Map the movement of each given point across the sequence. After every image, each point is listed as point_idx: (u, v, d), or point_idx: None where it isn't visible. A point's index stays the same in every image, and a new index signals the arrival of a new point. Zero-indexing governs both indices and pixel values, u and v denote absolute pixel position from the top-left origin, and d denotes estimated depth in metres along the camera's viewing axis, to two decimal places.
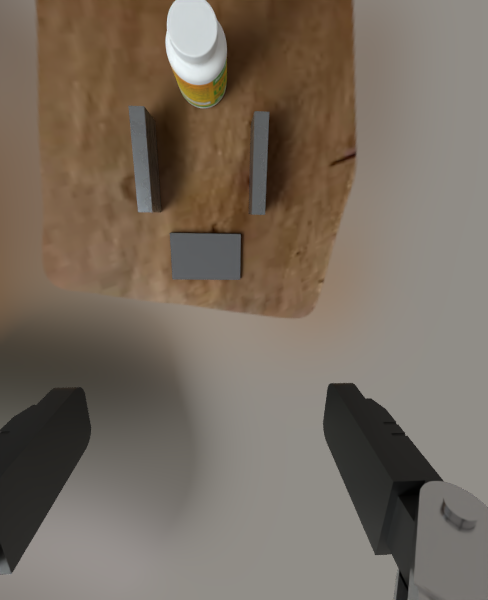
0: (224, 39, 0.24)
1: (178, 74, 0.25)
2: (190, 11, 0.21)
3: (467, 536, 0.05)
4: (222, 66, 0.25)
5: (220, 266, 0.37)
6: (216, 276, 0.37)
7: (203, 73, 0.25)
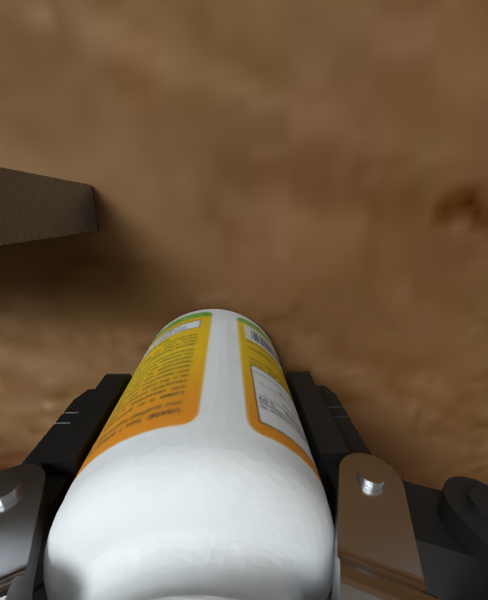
0: None
1: (73, 488, 0.05)
2: None
3: (371, 496, 0.05)
4: None
5: None
6: None
7: None
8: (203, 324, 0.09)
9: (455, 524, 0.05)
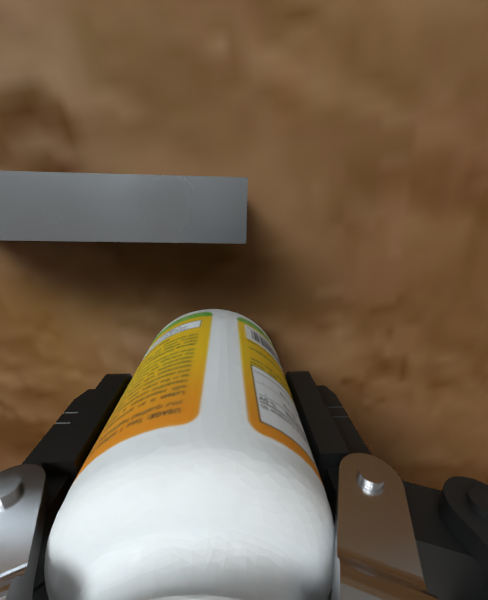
0: None
1: (74, 488, 0.05)
2: None
3: (371, 496, 0.05)
4: None
5: None
6: None
7: None
8: (203, 324, 0.09)
9: (455, 524, 0.05)
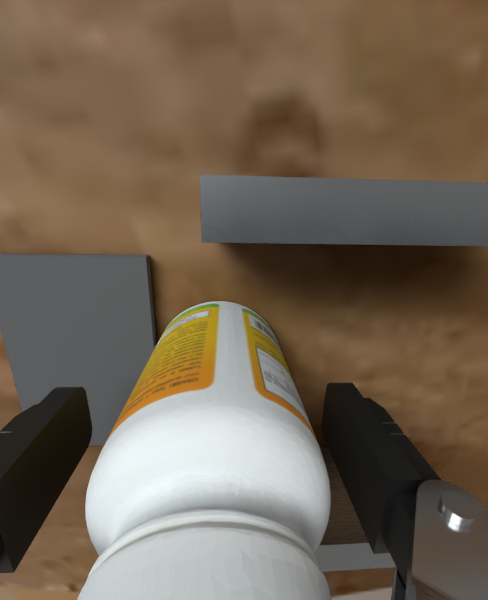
0: None
1: (110, 442, 0.06)
2: None
3: (464, 534, 0.05)
4: None
5: None
6: (26, 389, 0.12)
7: None
8: (212, 314, 0.10)
9: None
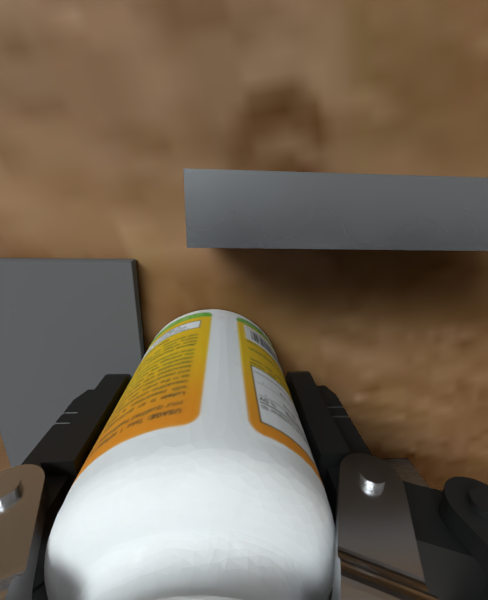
0: None
1: (74, 489, 0.05)
2: None
3: (372, 496, 0.05)
4: None
5: (42, 415, 0.11)
6: (3, 405, 0.11)
7: None
8: (203, 324, 0.09)
9: (455, 524, 0.05)
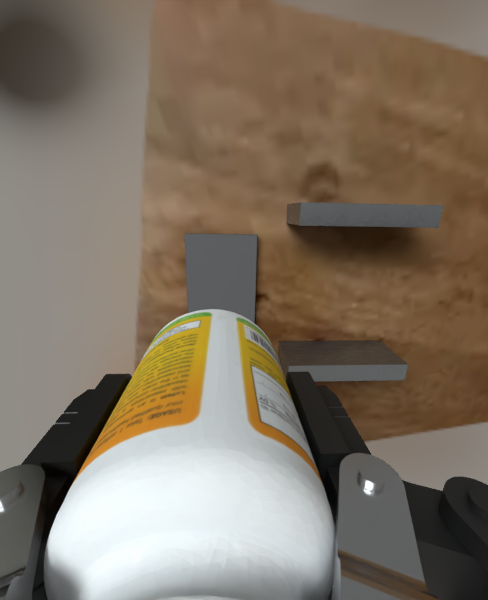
0: None
1: (74, 489, 0.05)
2: None
3: (372, 497, 0.05)
4: None
5: (208, 307, 0.25)
6: (192, 301, 0.25)
7: None
8: (203, 324, 0.09)
9: (455, 524, 0.05)
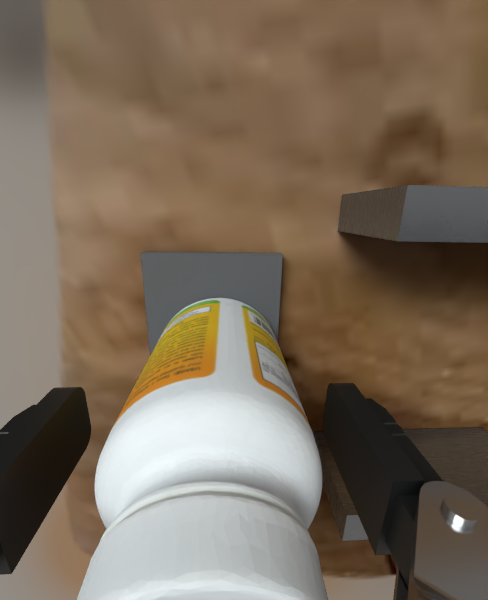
0: None
1: (118, 424, 0.06)
2: None
3: (466, 536, 0.05)
4: None
5: None
6: None
7: None
8: (213, 309, 0.11)
9: None
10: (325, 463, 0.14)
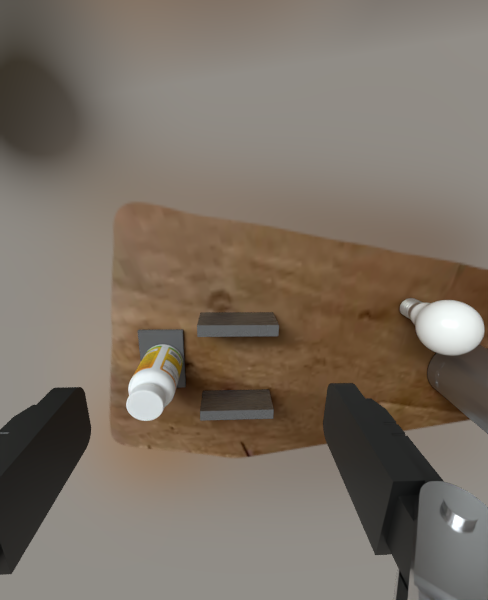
0: None
1: (132, 377, 0.32)
2: (152, 405, 0.30)
3: (467, 536, 0.05)
4: None
5: None
6: None
7: None
8: (158, 349, 0.37)
9: None
10: None
